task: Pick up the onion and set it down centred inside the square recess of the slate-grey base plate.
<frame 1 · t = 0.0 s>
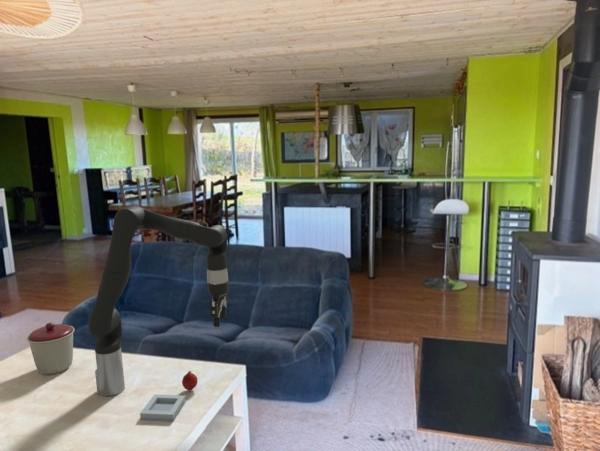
hand: (220, 322, 168), 29 cm above the table, fingers open, 8 cm apart
canister: (55, 369, 197), on the table
onion: (190, 390, 177), on the table
base plate: (163, 410, 164), on the table
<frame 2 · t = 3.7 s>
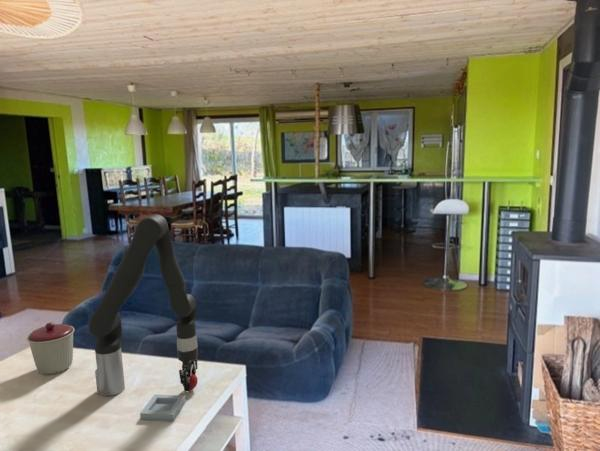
hand: (190, 386, 177), 2 cm above the table, fingers closed on onion, 6 cm apart
onion: (190, 390, 177), on the table, touching gripper
everything else where it was.
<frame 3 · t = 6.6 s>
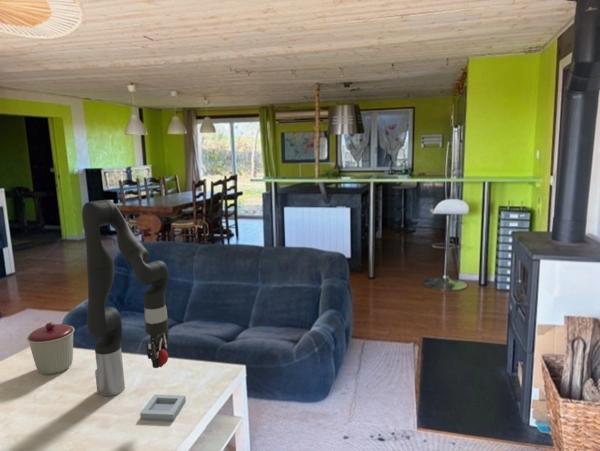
hand: (159, 362, 161), 19 cm above the table, fingers closed on onion, 6 cm apart
onion: (160, 367, 161), point 17 cm above the table, touching gripper
everything else where it was.
when the fingers open (4 cm above the table, at t = 10.0 s): onion drops 1 cm, resting on base plate.
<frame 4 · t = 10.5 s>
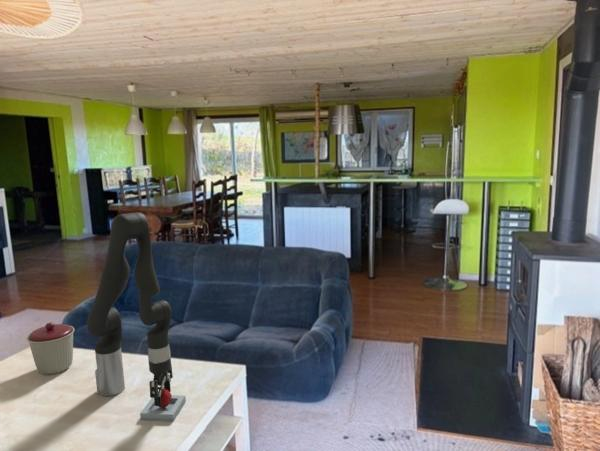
hand: (162, 398, 163), 5 cm above the table, fingers open, 8 cm apart
onion: (163, 408, 164), point 1 cm above the table, touching base plate
everything else where it was.
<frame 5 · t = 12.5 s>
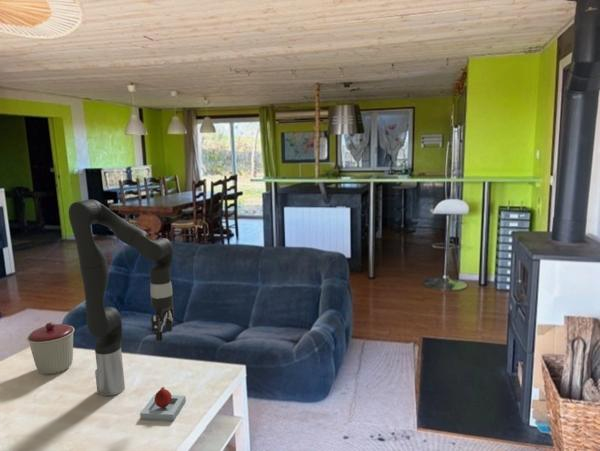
hand: (164, 335, 166), 25 cm above the table, fingers open, 8 cm apart
nothing on the table moved.
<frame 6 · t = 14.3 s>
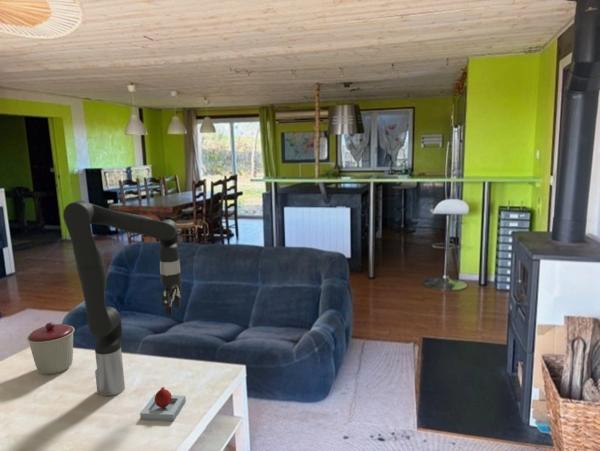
hand: (173, 311, 178), 30 cm above the table, fingers open, 8 cm apart
nothing on the table moved.
at the end: onion 0.1 cm off-centre on the base plate, point 0.8 cm above the base plate's base; the gripper is holding nothing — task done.
